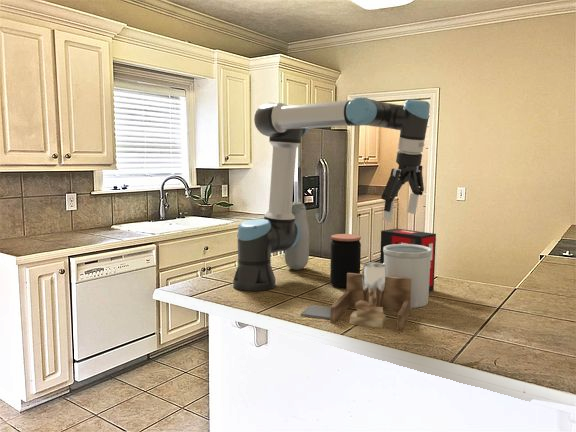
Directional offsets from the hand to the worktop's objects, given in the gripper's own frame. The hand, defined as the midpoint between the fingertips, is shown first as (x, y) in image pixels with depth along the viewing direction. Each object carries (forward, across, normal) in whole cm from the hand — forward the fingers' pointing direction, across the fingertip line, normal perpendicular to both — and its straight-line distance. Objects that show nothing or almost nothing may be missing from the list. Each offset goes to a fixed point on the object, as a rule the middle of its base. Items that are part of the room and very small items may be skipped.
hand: (399, 216), depth 152 cm
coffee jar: (+31, -3, +16) cm, 35 cm away
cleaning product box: (+29, +10, -1) cm, 31 cm away
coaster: (+25, -32, +2) cm, 41 cm away
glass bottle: (+37, +1, +45) cm, 59 cm away
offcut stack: (+22, -29, -13) cm, 39 cm away
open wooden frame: (+23, -24, -11) cm, 35 cm away
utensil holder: (+26, -4, -9) cm, 27 cm away
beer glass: (+23, -22, -10) cm, 34 cm away
